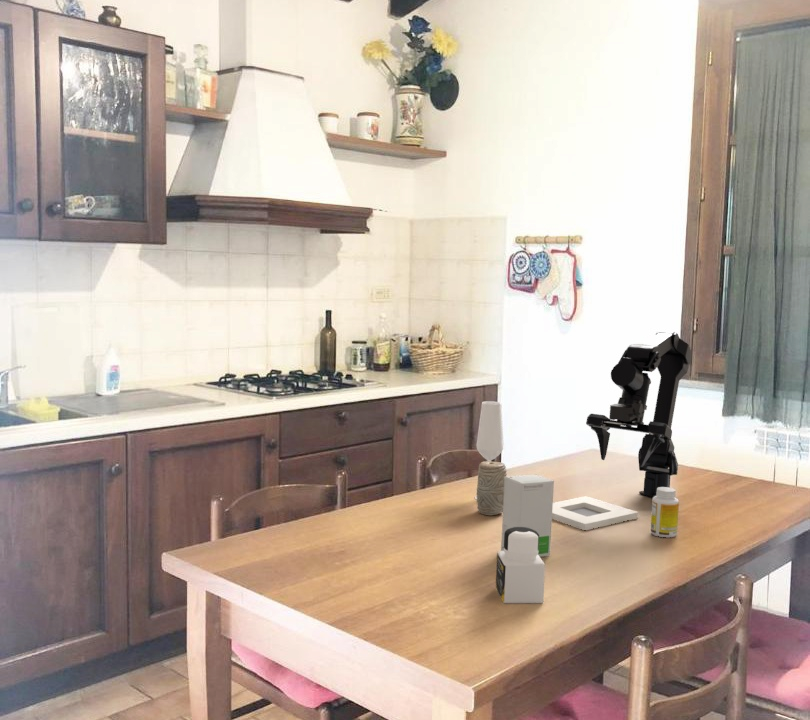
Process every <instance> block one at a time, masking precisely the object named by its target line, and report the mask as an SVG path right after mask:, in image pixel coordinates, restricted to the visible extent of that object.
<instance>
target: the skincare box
mask: <svg viewBox="0 0 810 720" xmlns="http://www.w3.org/2000/svg"><path fill="white" fill-rule="evenodd" d="M554 486H555V481H554V480H553V479H550V478H548V477H544V476H541V475H539V474H525V475H524V474H519V475H506V476H505V477H504V503H503V512H502V524H501V527H502V529H501V530H502V531H501V542H500V544H501V547H500V551H504V533H505V531H506V530H507V529H510V528H513V527H527V528H530V529H533V530H535V531H536V532H538V534H539V551H538V555H539V557H540V558H542V557H550V556H551V543H552V542H551V541H552V527H553V526H552V525H553V524H552V521H553V519H552V507H553V503H554Z"/></svg>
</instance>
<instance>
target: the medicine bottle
mask: <svg viewBox="0 0 810 720" xmlns="http://www.w3.org/2000/svg"><path fill="white" fill-rule="evenodd" d="M538 551H539V534H538V532H536V531H535V530H533V529H530V528H527V527H513V528H510V529H507V530H506V531H505V533H504V551H501V550H497V552H496V573H495V574H496V575H495V576H496V577H495V589H496V591H497V594H498V596H499V597H500V599H501V601H502V603H503V604H543V603H544V594H545V578H546V576H545V574H546V573H545V571H546V563H544V560H542V557H539V555H538Z"/></svg>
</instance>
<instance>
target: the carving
mask: <svg viewBox="0 0 810 720" xmlns="http://www.w3.org/2000/svg"><path fill="white" fill-rule="evenodd" d="M506 466H507V465H506V464H505V463H503V462H501V461H500V462H499V461H487V460H485V461H482V462H480V463H479V465H478V470H477V471H478V473H477V487H476V496H477V500H476V504H477V505H476V506H477V512H478V513H479V514H480V515H484V516H489V517H490V516H497V515H500V514H503V503H504V477H505V476H508V475H507V474H508V473H507V468H506Z"/></svg>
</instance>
